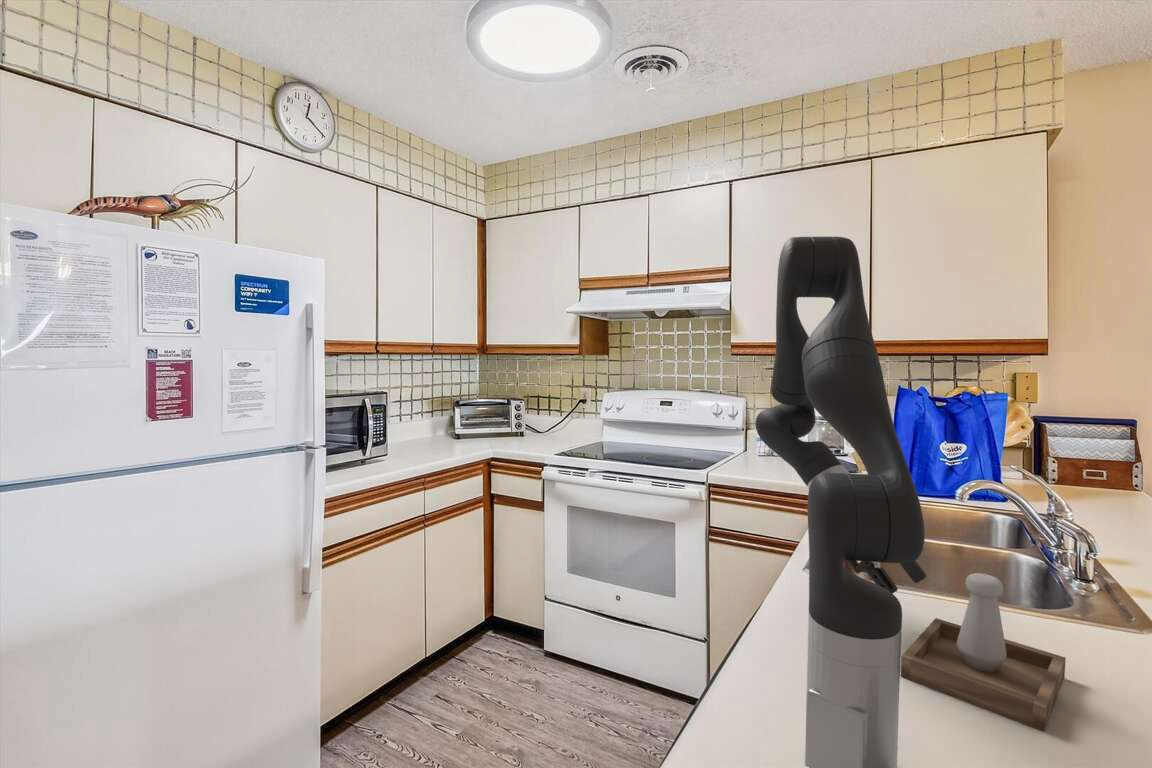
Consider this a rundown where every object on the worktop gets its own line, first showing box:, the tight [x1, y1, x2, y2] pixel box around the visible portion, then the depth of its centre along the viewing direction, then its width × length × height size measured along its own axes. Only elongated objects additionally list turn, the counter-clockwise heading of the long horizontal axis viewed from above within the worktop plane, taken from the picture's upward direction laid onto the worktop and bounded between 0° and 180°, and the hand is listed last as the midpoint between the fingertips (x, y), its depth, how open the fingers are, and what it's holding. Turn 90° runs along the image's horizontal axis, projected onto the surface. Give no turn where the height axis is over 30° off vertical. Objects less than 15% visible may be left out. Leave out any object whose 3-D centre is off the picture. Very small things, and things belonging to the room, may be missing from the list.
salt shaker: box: [957, 572, 1007, 673], centre depth 82 cm, size 6×6×13 cm
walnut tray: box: [900, 617, 1066, 732], centre depth 81 cm, size 16×16×3 cm
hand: (907, 586), depth 89 cm, fingers open, 8 cm apart
